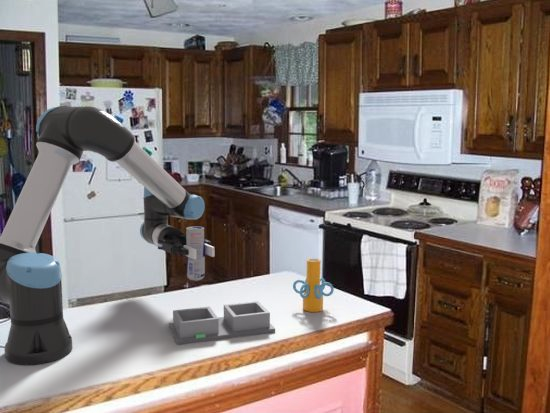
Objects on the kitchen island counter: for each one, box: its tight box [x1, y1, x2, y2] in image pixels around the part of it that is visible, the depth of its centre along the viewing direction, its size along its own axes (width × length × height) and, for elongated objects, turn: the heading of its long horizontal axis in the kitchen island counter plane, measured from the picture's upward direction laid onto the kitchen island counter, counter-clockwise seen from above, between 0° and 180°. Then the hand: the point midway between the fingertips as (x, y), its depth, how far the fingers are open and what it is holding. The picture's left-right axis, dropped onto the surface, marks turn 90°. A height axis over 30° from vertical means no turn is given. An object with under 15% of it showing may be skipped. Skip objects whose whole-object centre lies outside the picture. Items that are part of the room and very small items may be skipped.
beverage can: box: [185, 225, 206, 281], centre depth 165 cm, size 5×5×15 cm
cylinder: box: [292, 257, 335, 313], centre depth 171 cm, size 12×10×15 cm
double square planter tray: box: [168, 300, 276, 346], centre depth 155 cm, size 26×13×5 cm, turn 110°
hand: (204, 253), depth 161 cm, fingers closed on beverage can, 5 cm apart
